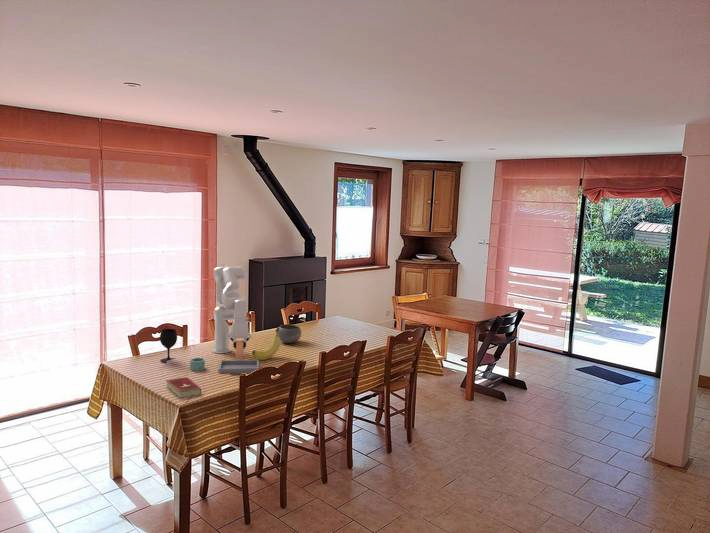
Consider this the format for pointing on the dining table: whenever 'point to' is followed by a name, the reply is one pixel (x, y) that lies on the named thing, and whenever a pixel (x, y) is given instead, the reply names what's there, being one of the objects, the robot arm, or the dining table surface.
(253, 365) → the tray
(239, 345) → the peg
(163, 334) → the wine glass
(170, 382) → the hardcover book
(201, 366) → the cup
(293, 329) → the bowl
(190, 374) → the dining table surface
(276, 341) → the banana
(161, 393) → the dining table surface
